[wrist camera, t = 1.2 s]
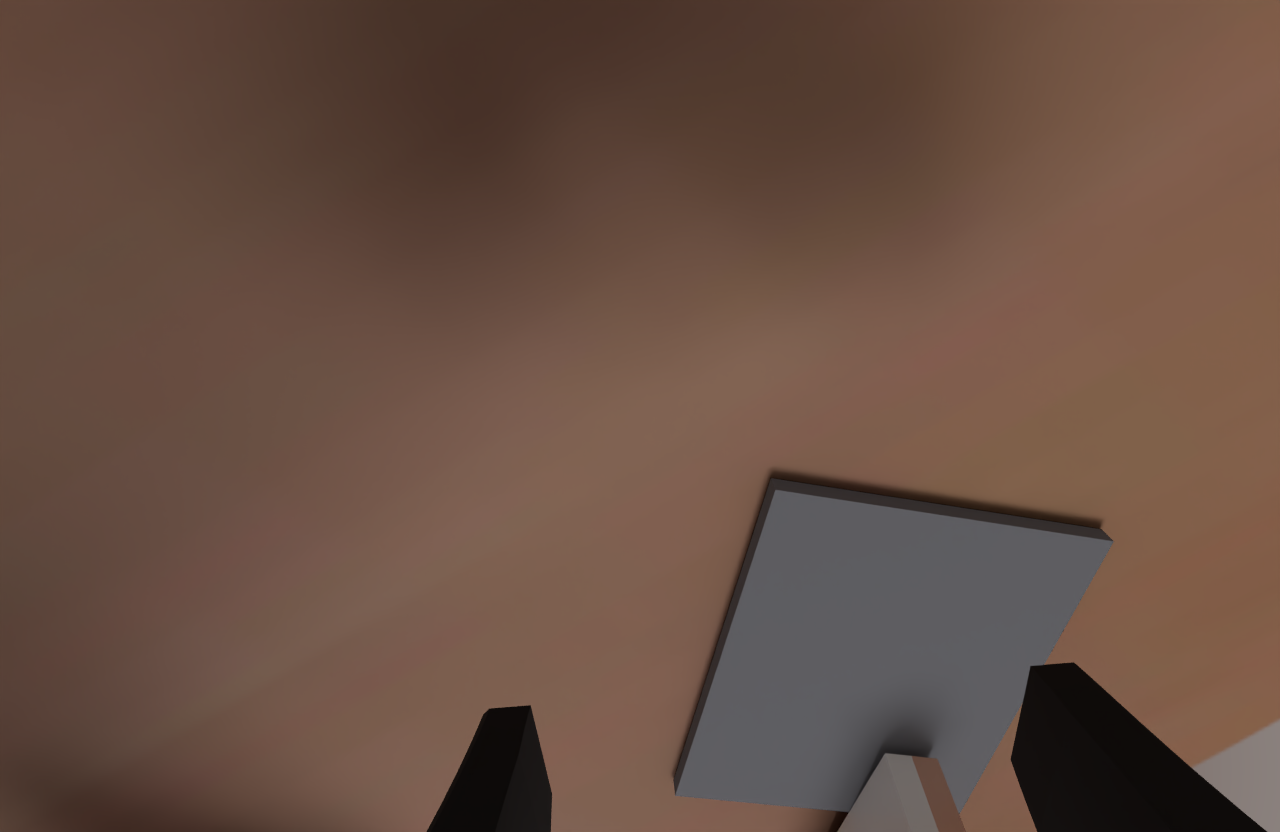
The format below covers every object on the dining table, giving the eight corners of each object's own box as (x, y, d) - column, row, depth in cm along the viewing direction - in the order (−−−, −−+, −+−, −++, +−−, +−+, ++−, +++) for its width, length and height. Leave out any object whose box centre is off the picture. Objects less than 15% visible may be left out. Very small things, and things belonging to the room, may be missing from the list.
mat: (947, 806, 28) (954, 822, 27) (673, 779, 26) (675, 795, 26) (1101, 529, 23) (1113, 541, 22) (771, 477, 21) (775, 489, 21)
